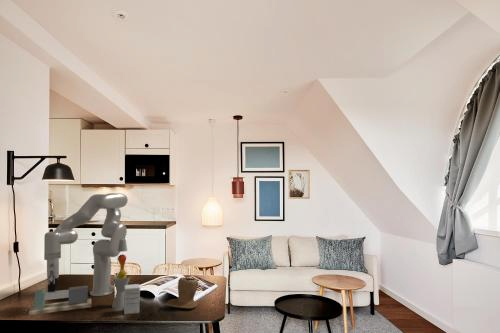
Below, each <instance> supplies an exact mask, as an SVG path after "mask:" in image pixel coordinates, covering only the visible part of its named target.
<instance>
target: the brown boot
mask: <svg viewBox="0 0 500 333" xmlns="http://www.w3.org/2000/svg"><path fill="white" fill-rule="evenodd" d="M198 285H199V283H198V280H197V279H196V278H192V277H185V276H184V277H183V276H182V277H180V278H179V279H178V282H177V291H178V297H177V298H173V299H170V300H168V301H167V302H166V303H165V305H166V306H167V307H172V308H178V309H187V310H189V309H194V308H196V307H197V306H198V302H196V301H195V300H194V298H195V295H196V292H197V289H198Z"/></svg>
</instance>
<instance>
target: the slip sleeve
mask: <svg viewBox="0 0 500 333" xmlns="http://www.w3.org/2000/svg"><path fill="white" fill-rule="evenodd" d="M68 290H69V297H68V300H67V302H68V306H69V305H77V304H85V303H87V300H88V299H89V296H88V295H89V285H80V286H79V285H78V286H71V287H70V286H69V287H68Z"/></svg>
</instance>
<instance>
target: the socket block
mask: <svg viewBox="0 0 500 333" xmlns="http://www.w3.org/2000/svg"><path fill="white" fill-rule="evenodd" d="M45 292H46V289H45V288H44V289H43V288H42V289H36V291H35V293H34V300H33V301H34V302H33V303H34V304H33V306H34V310H42V309H44V306H45V304H46V302H45V301H46V300H44V293H45Z"/></svg>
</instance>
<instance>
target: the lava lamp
mask: <svg viewBox="0 0 500 333" xmlns="http://www.w3.org/2000/svg"><path fill="white" fill-rule="evenodd" d="M118 251H119V252H120V253H121V252H127V251H128V246H127V240H126V238H125V239H120V242H119V247H118ZM126 260H127V256H126V255H125V254H123V253H122V254H119V255H118V256H117V261H118V263H119V265H120V267H119V271H118V275H114V276H112V280H113V283H114V284H113V285H115V287H116V289H115V291H116V293H115V295H114V298H113V302H112V305H111V307H112V308H113V309H124V287H125V285H129V281H130V279H131V275H128V274H127V271H126V270H125V265H126Z"/></svg>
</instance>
